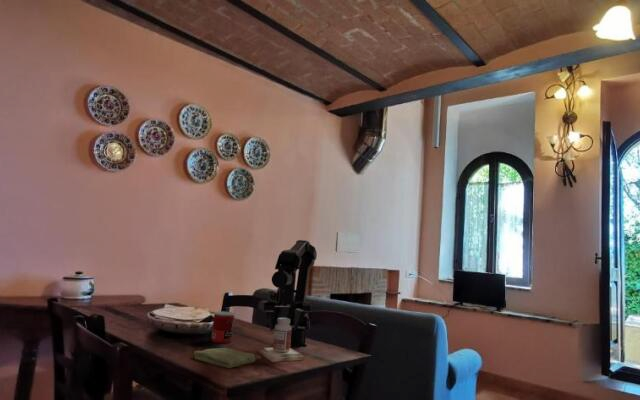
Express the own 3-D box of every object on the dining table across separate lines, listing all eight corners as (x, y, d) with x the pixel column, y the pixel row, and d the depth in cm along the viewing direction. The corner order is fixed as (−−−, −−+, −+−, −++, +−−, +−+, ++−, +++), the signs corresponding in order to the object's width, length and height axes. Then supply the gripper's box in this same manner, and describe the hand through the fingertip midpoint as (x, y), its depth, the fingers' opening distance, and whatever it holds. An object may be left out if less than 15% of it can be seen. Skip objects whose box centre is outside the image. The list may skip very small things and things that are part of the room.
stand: (289, 351, 157) (289, 346, 158) (303, 359, 147) (304, 354, 147) (259, 353, 152) (259, 347, 152) (271, 361, 141) (272, 355, 142)
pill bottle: (285, 348, 154) (288, 317, 155) (292, 352, 148) (295, 320, 150) (269, 348, 151) (272, 317, 152) (276, 352, 146) (279, 320, 147)
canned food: (227, 344, 161) (230, 315, 162) (207, 342, 162) (210, 313, 164) (234, 340, 168) (237, 312, 170) (216, 338, 170) (219, 310, 171)
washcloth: (219, 353, 149) (220, 343, 149) (257, 363, 139) (258, 353, 139) (190, 359, 138) (191, 349, 138) (228, 371, 128) (229, 360, 129)
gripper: (300, 284, 164) (296, 325, 162) (255, 283, 155) (250, 326, 153) (313, 287, 154) (310, 331, 152) (266, 286, 145) (262, 332, 143)
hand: (283, 330), depth 151 cm, fingers open, 9 cm apart
